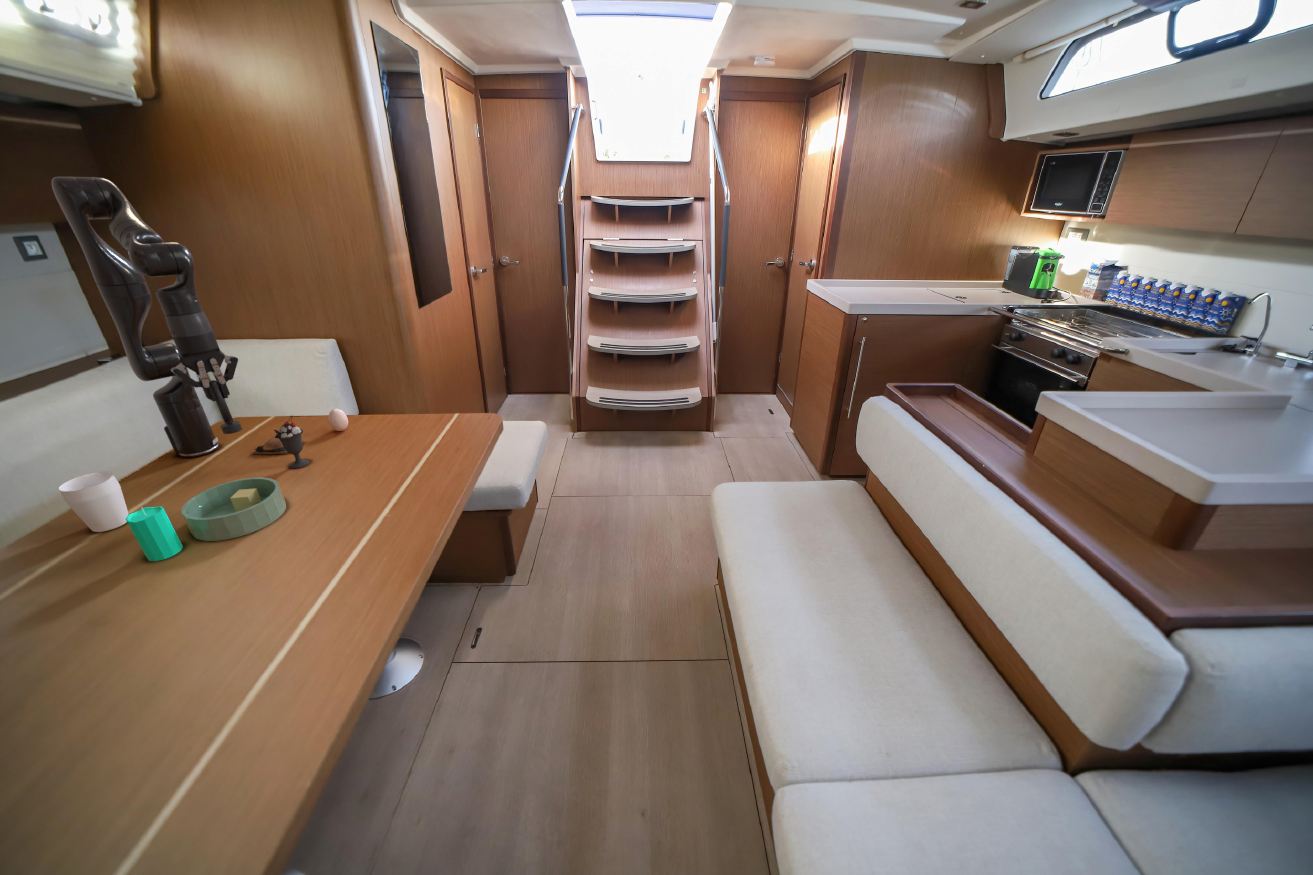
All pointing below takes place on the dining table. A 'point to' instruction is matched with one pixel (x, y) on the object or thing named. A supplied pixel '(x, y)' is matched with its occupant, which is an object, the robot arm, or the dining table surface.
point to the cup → (96, 500)
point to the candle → (154, 533)
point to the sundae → (292, 442)
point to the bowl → (232, 510)
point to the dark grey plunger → (224, 411)
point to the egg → (338, 420)
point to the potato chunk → (245, 499)
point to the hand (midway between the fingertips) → (219, 398)
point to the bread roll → (271, 447)
